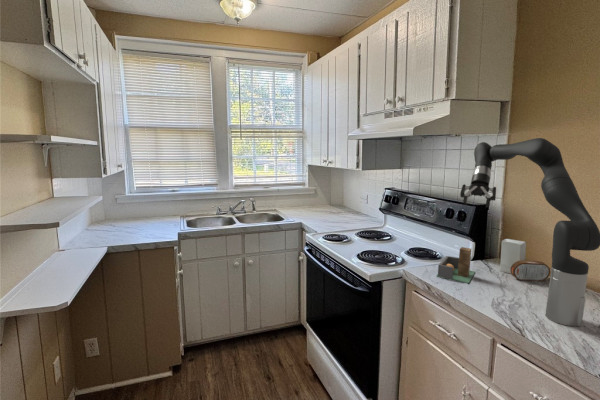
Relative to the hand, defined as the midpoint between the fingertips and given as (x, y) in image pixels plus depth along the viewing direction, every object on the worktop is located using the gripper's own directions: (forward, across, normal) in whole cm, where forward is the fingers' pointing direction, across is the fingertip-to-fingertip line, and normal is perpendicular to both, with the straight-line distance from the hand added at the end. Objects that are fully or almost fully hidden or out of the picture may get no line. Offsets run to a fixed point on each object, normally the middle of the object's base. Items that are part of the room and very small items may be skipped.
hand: (475, 205), depth 149 cm
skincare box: (+16, +17, +27) cm, 36 cm away
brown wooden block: (+28, -1, +15) cm, 32 cm away
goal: (+28, -4, +15) cm, 32 cm away
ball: (+27, -7, +14) cm, 31 cm away
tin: (+20, +23, +23) cm, 39 cm away
